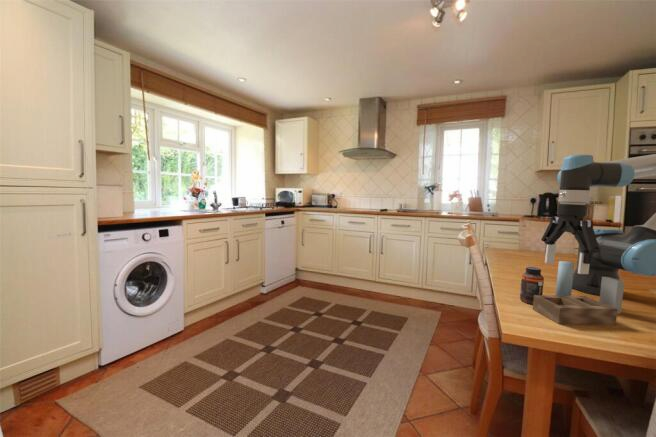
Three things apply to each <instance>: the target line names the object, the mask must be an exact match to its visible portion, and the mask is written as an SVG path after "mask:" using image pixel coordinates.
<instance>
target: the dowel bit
mask: <svg viewBox="0 0 656 437" xmlns="http://www.w3.org/2000/svg"><path fill="white" fill-rule="evenodd" d="M557 268H558V269H557V277H556V286H555V288H556V289H555V295H556V296H572V293H573V288H572V282H573V273H574V271H575V263H574V262H572V261H567V260H566V261H565V260H559V261H558V267H557Z"/></svg>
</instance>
